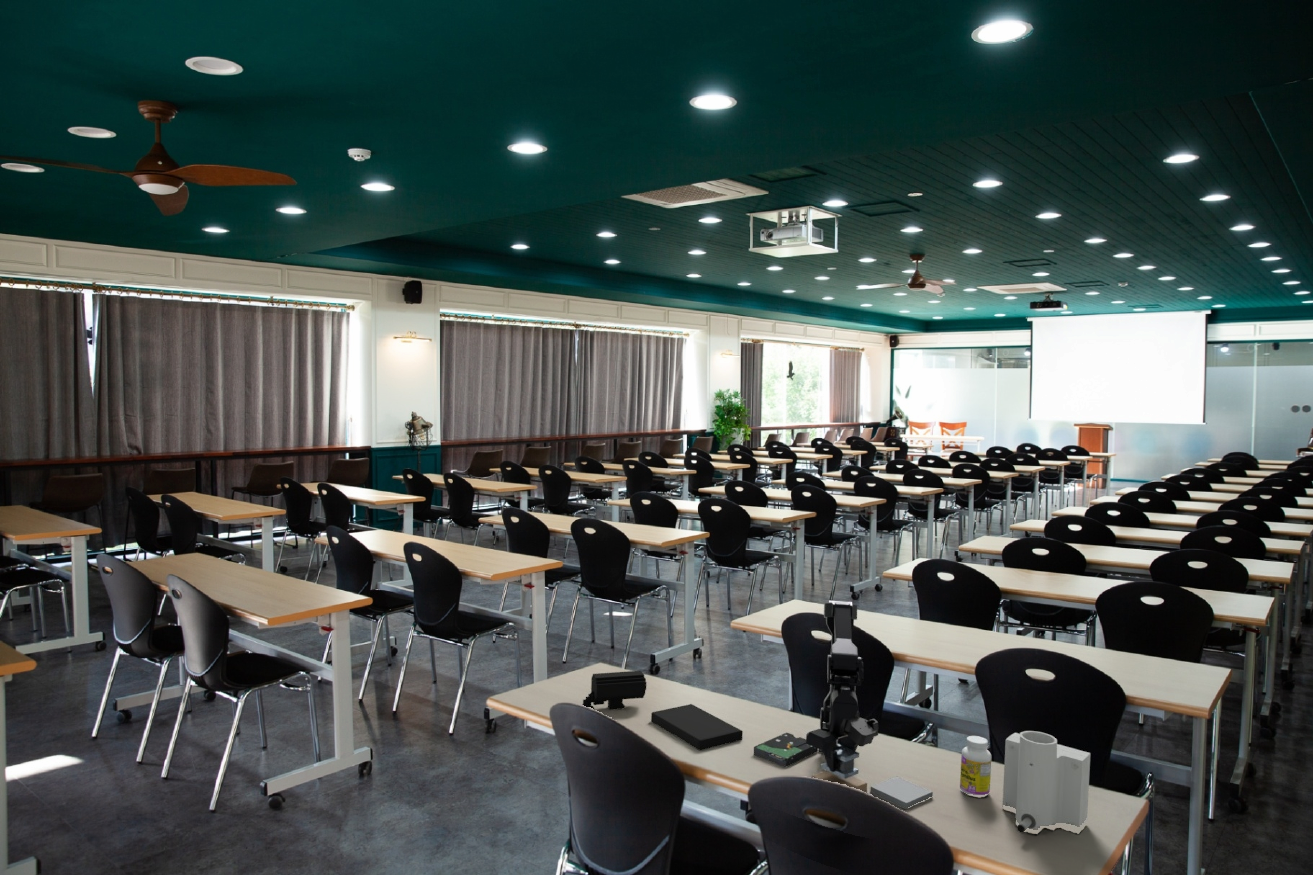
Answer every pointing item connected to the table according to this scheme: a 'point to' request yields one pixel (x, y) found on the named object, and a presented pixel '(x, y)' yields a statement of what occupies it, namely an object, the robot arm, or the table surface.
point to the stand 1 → (842, 780)
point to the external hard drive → (696, 726)
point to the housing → (844, 763)
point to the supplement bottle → (975, 767)
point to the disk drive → (784, 749)
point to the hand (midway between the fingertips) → (839, 768)
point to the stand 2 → (900, 792)
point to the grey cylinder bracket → (1045, 781)
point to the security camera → (615, 688)
